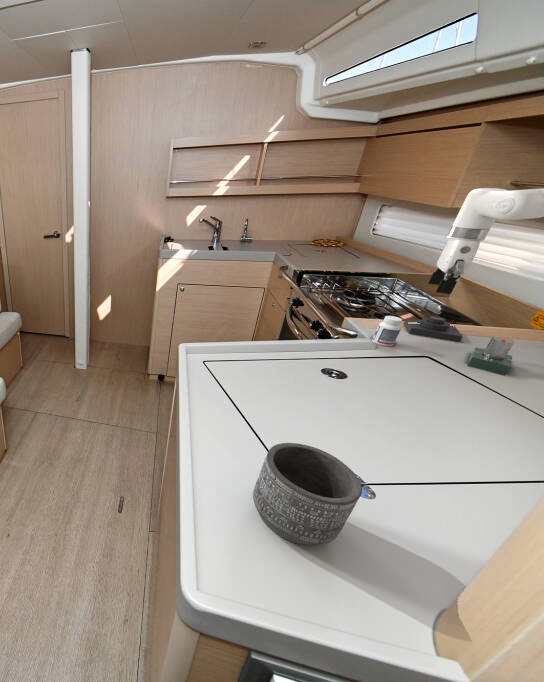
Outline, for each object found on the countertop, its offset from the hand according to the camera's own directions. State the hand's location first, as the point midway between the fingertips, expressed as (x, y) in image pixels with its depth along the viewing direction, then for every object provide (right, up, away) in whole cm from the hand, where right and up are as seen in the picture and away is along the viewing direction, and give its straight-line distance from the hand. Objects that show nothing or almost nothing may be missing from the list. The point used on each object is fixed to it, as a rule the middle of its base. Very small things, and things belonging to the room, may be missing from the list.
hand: (438, 288), depth 112 cm
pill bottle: (-14, -18, +4) cm, 23 cm away
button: (+8, -11, +8) cm, 15 cm away
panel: (+2, -24, -10) cm, 26 cm away
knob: (+2, -21, -11) cm, 24 cm away
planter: (-86, -49, -51) cm, 111 cm away
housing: (+8, -14, +9) cm, 18 cm away
